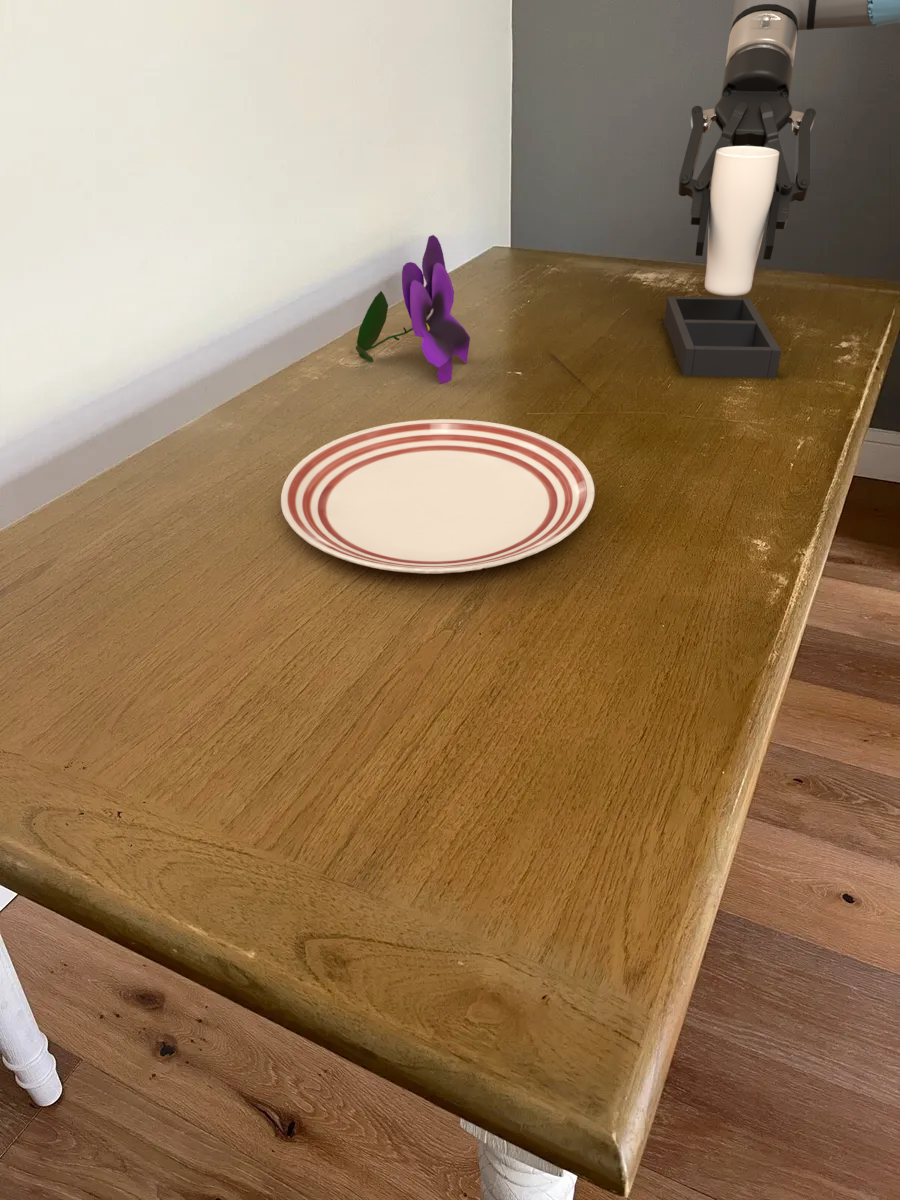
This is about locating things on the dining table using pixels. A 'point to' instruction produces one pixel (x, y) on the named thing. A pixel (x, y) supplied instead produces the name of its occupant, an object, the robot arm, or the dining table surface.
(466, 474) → the dinner plate
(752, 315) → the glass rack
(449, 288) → the flower
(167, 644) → the dining table surface
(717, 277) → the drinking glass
